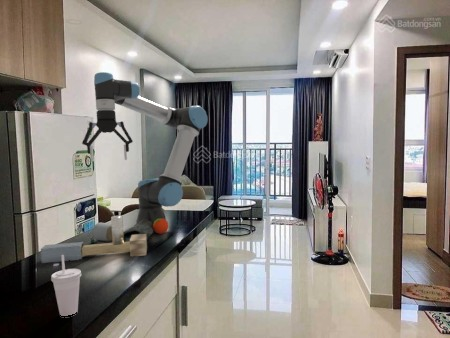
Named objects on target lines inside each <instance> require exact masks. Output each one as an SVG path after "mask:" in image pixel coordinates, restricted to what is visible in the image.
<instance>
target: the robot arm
mask: <svg viewBox="0 0 450 338" xmlns="http://www.w3.org/2000/svg"><path fill="white" fill-rule="evenodd" d="M93 77H94V79H93V80H94V81H93V83H94V84H93V85H94V95H95V96H94V97H95V109H96V110H97V111H96V122H92V121H89V124H88V128H87V131H86V133H85V135H84V138H83V140H82V143H81V144H82V145H84V146H86V147H87V148H86V149H87V150H86V151H87V154H90V155H89V156H90V162H95V158H94V156H95V155H94V146H93V145H92V144H93V143H94V142H95V140H96V139H97V138H98V137H99V136H100V135H101V134H102V133H104V134H105V133H109V134H110V133H114V134H116V135H117V136H118V138H120V140H121V141H122V142H123V143H124V144H123V153H124V154H123V155H124V161H127V160H128V156H127V153H128V152H130V147H129V145H130V144H132V143H134V142H133V139H132V138H131V136H130V134H129V131H128V130H127V129H126V127H125V124H124V123H125V122H124V121H118V122H117V120H116V119H117V118H116V105H119V106H121V107H124V108H127V109H129V110H132V111H134V112H137V113H139V114H142V115H143V116H147V117H150V118H153V119H155V120H156V121H157V120H158V121H160V123H161V124H163V125H165V126H168V127H169V128H170V127H171V128H173V129H176V130H178V133H177V136H176V138H175V142H174V143H173V146H172V150H171V152H170V155H169V157H168V160H167V163H166V165H165V169H164V171H163V173H162V174H160V175H159V176H158V178H151V179H150V178H148V179H143V180H138V184H137V191H138V192H137V193H138V213H137V217H136V223H135V224H136V225H137V224H138V223H139V222H140V221H141V220H143V219H146V220H149V221H150V222H151V223H152V224H154V222H155V221H156V220H157V219H160V218H163V219H165V220H166V221H167V218H166V215H165V212H164V209H163V207H167V208H168V207H175V206H176V205H177V204H179V203H180V202H181V201H182V198H183V196H184V195H183V194H184V191H183V187H182V184H183V183H182V180H181V177H182V174H183V171H184V170H185V166H186V164H187V160H188V157H189V154H190V152H191V148H192V146H193V142H194V140H195V137H198V136H199V135H200V131H201V130H202V129H203V128H205V127H206V126H207V124H208V119H209V118H208V115H207V111H206V110H205V109H204V108H203V107H201V105H191V106H188V107H181V108H180V107H179V108H172V107H170V106H162V105H161V104H158V103H155V102H153V101H151V100H148V99H147V98H144V97H141V96H140V94H141V93H140V92H141V89H140V88H141V87H140V85H139V84H138V82H135V81H131V80H124V79H123V80H121V79H115V78H114V75H113V74H112V73H111V72H97V73H95V74H94V76H93ZM118 126H119V128H121V130H122V131H123V133H124V135H125V136H126V138H127V139H128V140H127V139H126V138H125V137H124V136H123V135H122V134H121V133H120V132H119V131H118V130H117V129H116V128H117V127H118ZM95 127H97V128H98V129H97V131H95V133H94V135H92V132H93V130H94V128H95ZM91 135H92V137H91V138H90V136H91ZM89 138H90V139H89ZM88 140H89V141H88Z"/></svg>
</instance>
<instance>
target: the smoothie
mask: <svg viewBox="0 0 450 338" xmlns="http://www.w3.org/2000/svg"><path fill="white" fill-rule="evenodd" d="M61 257H62V261H61V270H59V271H56V272H54V273H52V274H51V276H50V277H51V278H50V281H51V282H52V283H53V288H54V291H55V292H54V293H55V298H56V302H57V307H58V312H59V316H60V315H61V316H68V315H72V314H75V313H76V312H77V313H78V310H79V294H80V282H81V281H80V279H81V276H82V271H81V269H79V268H67V269H66V266H65V261H64V255H61ZM75 315H76V314H75ZM61 316H60V317H61Z"/></svg>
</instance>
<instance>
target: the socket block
mask: <svg viewBox="0 0 450 338" xmlns="http://www.w3.org/2000/svg"><path fill="white" fill-rule="evenodd" d="M147 240H148V239H147V237H146V234H137V235H131V238H130V252H129V253H130V255H129V256H130V257H141V256H142V257H143V256H147V251H148V241H147Z"/></svg>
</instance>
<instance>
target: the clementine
mask: <svg viewBox="0 0 450 338" xmlns="http://www.w3.org/2000/svg"><path fill="white" fill-rule="evenodd" d="M152 229H153V232H155V233H157V234H158V235H159V234H161V235H162V234H164V233H166V232H168V229H169V223H168V221H167V219H166V220H165V219H163V218H160V219H157V220H156V221H155V222H154V224H153V227H152Z"/></svg>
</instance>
